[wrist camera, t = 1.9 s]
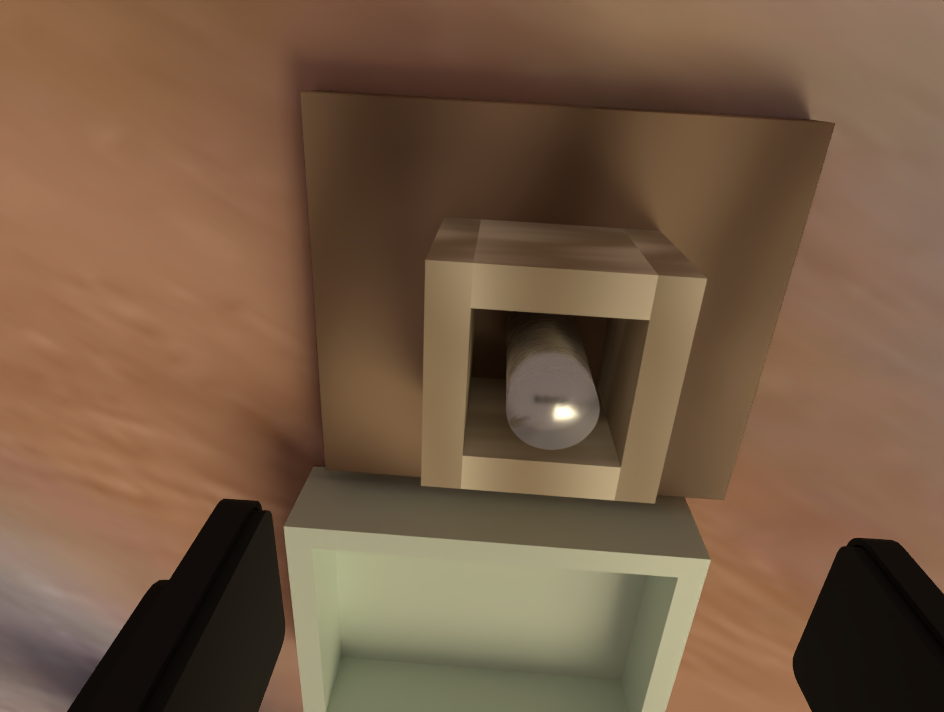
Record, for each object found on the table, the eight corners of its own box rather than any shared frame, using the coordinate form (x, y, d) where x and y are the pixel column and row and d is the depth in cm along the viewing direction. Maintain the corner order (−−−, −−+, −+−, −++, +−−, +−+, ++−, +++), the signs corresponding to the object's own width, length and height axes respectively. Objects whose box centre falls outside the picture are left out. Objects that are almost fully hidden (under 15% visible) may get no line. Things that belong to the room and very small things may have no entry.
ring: (659, 230, 19) (707, 278, 15) (624, 416, 22) (654, 503, 18) (444, 216, 19) (425, 259, 15) (438, 402, 22) (421, 485, 18)
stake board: (811, 119, 19) (835, 123, 17) (712, 477, 25) (723, 500, 24) (314, 90, 19) (299, 91, 18) (334, 448, 25) (325, 469, 24)
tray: (683, 494, 25) (710, 559, 22) (635, 680, 30) (651, 757, 27) (313, 466, 26) (283, 526, 22) (327, 654, 31) (305, 727, 27)
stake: (579, 293, 20) (606, 373, 15) (570, 356, 21) (593, 453, 16) (509, 288, 20) (510, 366, 15) (503, 352, 21) (502, 446, 16)
